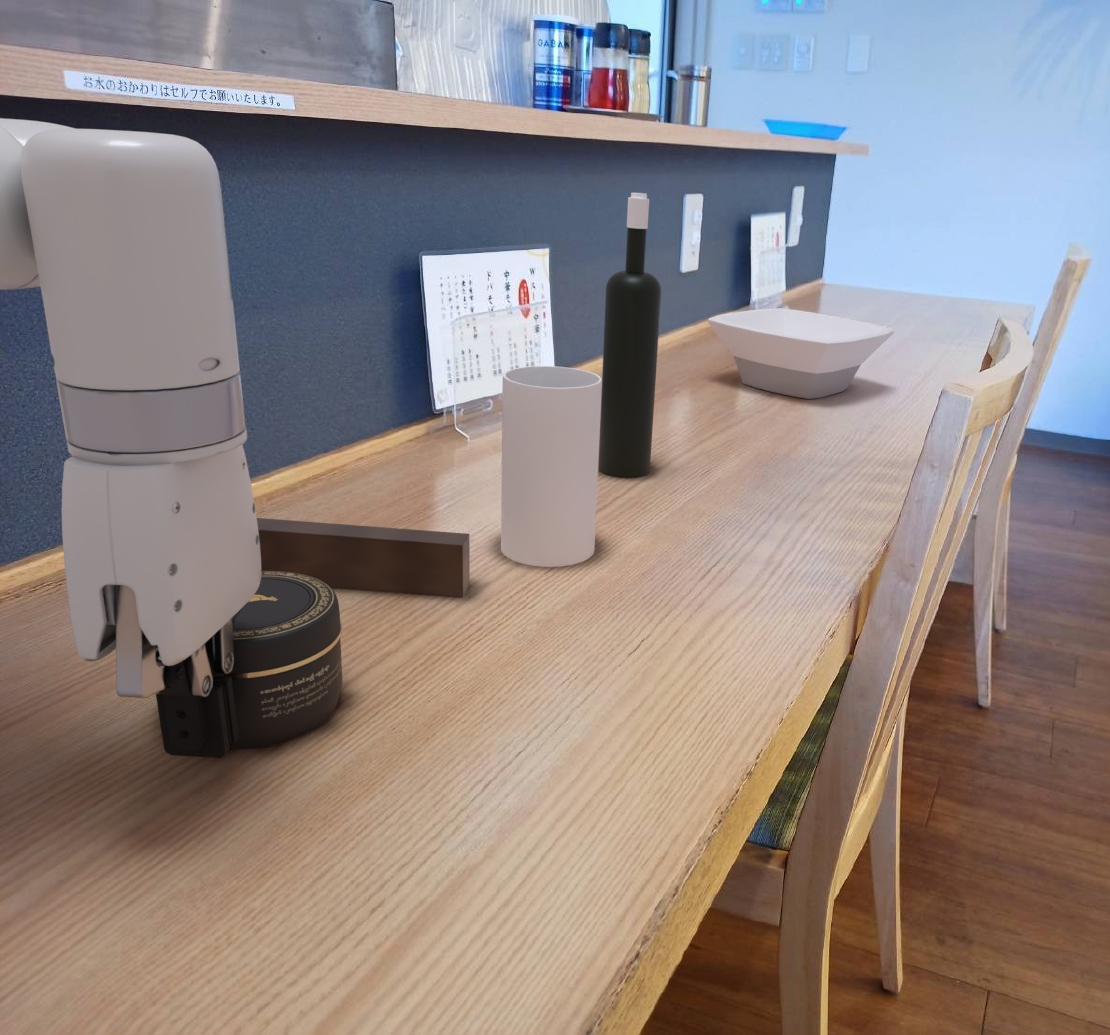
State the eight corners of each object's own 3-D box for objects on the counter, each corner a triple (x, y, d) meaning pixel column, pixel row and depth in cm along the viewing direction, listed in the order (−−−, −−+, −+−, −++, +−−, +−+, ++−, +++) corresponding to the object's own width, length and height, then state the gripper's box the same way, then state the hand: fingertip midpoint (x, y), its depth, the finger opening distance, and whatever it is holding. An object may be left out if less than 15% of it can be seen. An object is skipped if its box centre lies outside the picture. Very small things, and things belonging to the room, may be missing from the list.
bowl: (689, 382, 156) (694, 317, 152) (774, 363, 175) (780, 305, 172) (821, 414, 143) (830, 344, 139) (897, 390, 162) (907, 328, 158)
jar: (136, 714, 59) (120, 600, 57) (287, 657, 67) (279, 554, 64) (225, 783, 54) (212, 660, 51) (378, 712, 62) (374, 602, 59)
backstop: (231, 586, 76) (225, 527, 75) (245, 574, 79) (239, 516, 77) (463, 604, 77) (462, 544, 75) (469, 591, 79) (469, 533, 77)
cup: (612, 552, 89) (621, 378, 83) (554, 580, 82) (559, 393, 76) (542, 529, 93) (546, 361, 87) (481, 554, 86) (481, 374, 80)
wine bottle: (659, 475, 110) (678, 196, 100) (625, 486, 106) (641, 195, 96) (622, 463, 114) (637, 191, 103) (587, 473, 109) (598, 190, 99)
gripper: (161, 375, 53) (201, 675, 59) (-38, 453, 39) (42, 834, 45) (299, 383, 53) (324, 682, 59) (150, 464, 39) (204, 844, 45)
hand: (202, 747), depth 52 cm, fingers closed
